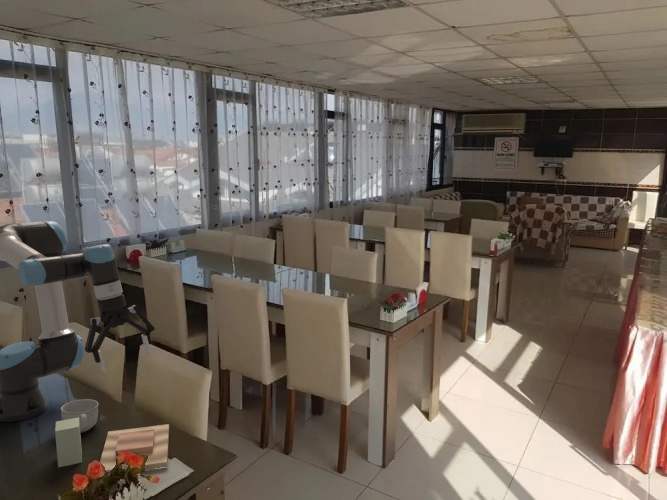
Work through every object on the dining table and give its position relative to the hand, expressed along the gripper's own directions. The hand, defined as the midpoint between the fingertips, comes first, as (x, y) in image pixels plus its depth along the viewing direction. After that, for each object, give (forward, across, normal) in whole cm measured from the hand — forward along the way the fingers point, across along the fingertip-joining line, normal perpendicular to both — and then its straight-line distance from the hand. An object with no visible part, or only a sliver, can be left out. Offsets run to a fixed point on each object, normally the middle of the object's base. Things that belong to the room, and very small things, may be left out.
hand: (127, 363), depth 156 cm
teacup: (+21, -14, +18) cm, 31 cm away
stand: (+25, -5, -6) cm, 26 cm away
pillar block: (+22, -21, +2) cm, 30 cm away
